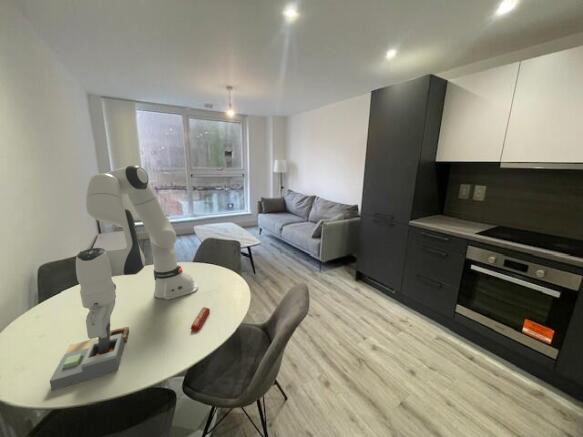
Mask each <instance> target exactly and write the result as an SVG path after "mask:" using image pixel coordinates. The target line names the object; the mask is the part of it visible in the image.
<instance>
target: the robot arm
mask: <svg viewBox="0 0 583 437" xmlns="http://www.w3.org/2000/svg"><path fill="white" fill-rule="evenodd" d="M126 194H127V196H128V199H129V202H130V203H131V205H132V206H133V209H134V210H135V212H136V214H137V216H138V217H139V219H140V221H141V222H142V224H143V227H144V228H145V230H146V231H147V233H148V237H149V242H150V248H151V254H152V260H153V262H152V263H153V279H154V283H155V284H154V292H153V296H154V297H155V298H158V299H162V300H166V301H170V300H172V299H175V298H178V297H182V296H186V295H188V294H189V295H190V294H192V293H195V292H197V290H198V288H199V284H198V282H197V281H196V280H194V279H193V277H192V276H191V274H189V273H187V272H184V271H183V268H182V266H181V265H180V264H179V265H178V262H177V253H176V248H175V243H176V242H177V232H176V231H175V229H174V227H173V226H172V223H171V222H170V219H169V218H168V217H167V215H166V213H165V210H163V208H162V205H161V203H160V202H159V200H158V198H157V196H156V193H155V192H154V191H153V189H152V187H151V186H150V185H149V176H148V173H147V171H146V170H145V169H144V168H143V167H141V166H140V165H128V166H124V167H119V168H115V169H113V170H110V171H108V172H105V173H97V174H94V175H93V176H92V177H90V181H89V182H88V186H87V190H86V200H85V207H86V212H87V213H88V215H89V216H90V217H91V218H93V219H95V220H96V221H99V222H102V223H105V224H110V225H114V226H118V227H120V228H122V229H123V235H124V237H125V238H124V239H125V243H126V247H125V248H122V249H112V250H111V249H110V250H106V249H104V248H101V247H93V248H87V249H84V250H83V251H80V252H79V253H77V255H76V257H75V273H76V279H77V282H78V284H79V286H80V290H79V293H80V299H81V304H82V307H83V308H84V309H88V310H89V312H88V313H87V315H86V316H85V317H86V319H85V322H86V323H85V325H86V332H87V337H88V338H89V339H88V340H92V339H98V337H100V338H105V337H107V334H108V333H107V330H106V327H107V324H108V323H109V324H110V327H111V326H112V324H111V316H112V313H113V310H114V309H115V306H116V298H117V294H116V293H117V292H116V290H117V286H116V283H114V280H112V279H113V277H119V276H131V275H132V276H134V275H137V274H138V273H140V272H142V270H143V269H144V268H145V265H146V257H145V255H144V252H143V250H142V248H141V243H140V239H139V235H138V231H137V226H136V224H135V223H136V222H135V220H134V217H133V215H132V213H131V211H130V210H129V209H126V208H125V207H124V204H123V202H122V201H123V200H122V199H123V198H122V195H123V196H124V195H126Z"/></svg>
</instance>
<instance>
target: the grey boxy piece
mask: <svg viewBox="0 0 583 437" xmlns="http://www.w3.org/2000/svg"><path fill="white" fill-rule="evenodd" d="M110 348H113V349H114V351H112V352H109V353H105V354H101V355H98V356H96V354H97V353H98V338H96V340H93V341H92V342H91V345H90V347H89V348H87V349H83V350H79V351H75V352H71V353H67V354H65V353H64V355H63V356H62V358H61V360H60V362H59V363H58V365H57V367H56V368H55V370H54V373H53V374H52V376H51V378H50V379H49V386H50V389H51V391H54V390H57V389H60V388H64V387H67V386H71V385H74V384H77V383H79V382H80V383H81V382H84V381H86V380H91V379H93V378H97V377H100V376H103V375H106V374H110V373H114V372H117V371H119V370H120V366H121V365H120V364H121V362H122V357H123V352H124V349H125V343H124V342H123V335H122V333H121V334H117V335H113V336H110ZM77 354H82V361H81V363H80V365H77V366H74V367H70V368H67V369H64V363H65V361H66V359H67V357H70V356H73V355H77Z"/></svg>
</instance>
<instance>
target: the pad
mask: <svg viewBox="0 0 583 437" xmlns="http://www.w3.org/2000/svg"><path fill="white" fill-rule="evenodd" d="M93 340H97V338H93V339H88V340H86V341H85V340H84V341H80V342H77V343H72V344H69V347H68V348H67V350H66V351H65V353H64V355H65V354H67V353H71V352H75V351H79V350H83V349H87V348H89V347H90V345H91V342H92V341H93Z"/></svg>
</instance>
